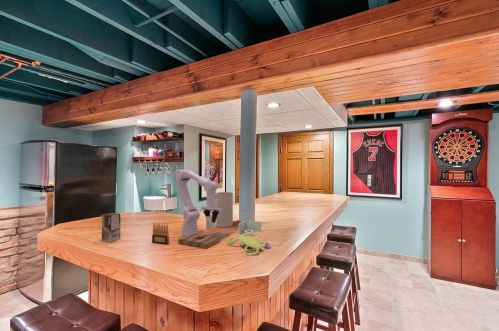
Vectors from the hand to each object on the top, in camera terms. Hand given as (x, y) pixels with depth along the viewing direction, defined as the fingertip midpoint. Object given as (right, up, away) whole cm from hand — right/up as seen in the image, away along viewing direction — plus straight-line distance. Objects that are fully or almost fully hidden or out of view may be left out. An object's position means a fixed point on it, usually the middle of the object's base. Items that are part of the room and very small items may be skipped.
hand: (211, 222), depth 153 cm
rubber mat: (+4, -10, +7) cm, 13 cm away
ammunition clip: (-28, -11, -10) cm, 32 cm away
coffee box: (-61, -11, -3) cm, 62 cm away
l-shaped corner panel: (+25, -11, +13) cm, 30 cm away
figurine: (+24, -11, -14) cm, 30 cm away
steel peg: (0, -4, 0) cm, 4 cm away
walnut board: (-6, -10, -9) cm, 15 cm away
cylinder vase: (+5, -11, +33) cm, 35 cm away
